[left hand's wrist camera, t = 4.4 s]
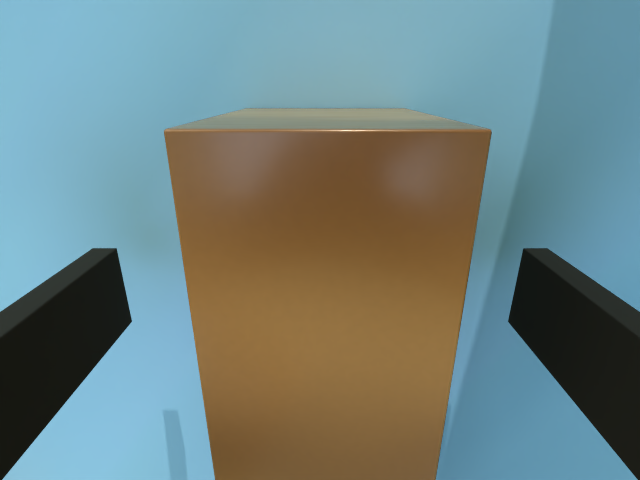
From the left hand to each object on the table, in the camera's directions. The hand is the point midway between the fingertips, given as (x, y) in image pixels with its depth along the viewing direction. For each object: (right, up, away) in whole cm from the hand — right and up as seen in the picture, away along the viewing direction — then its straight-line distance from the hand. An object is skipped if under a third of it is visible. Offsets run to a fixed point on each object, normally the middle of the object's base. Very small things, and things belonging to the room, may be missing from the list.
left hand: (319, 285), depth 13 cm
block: (0, -28, +15) cm, 32 cm away
